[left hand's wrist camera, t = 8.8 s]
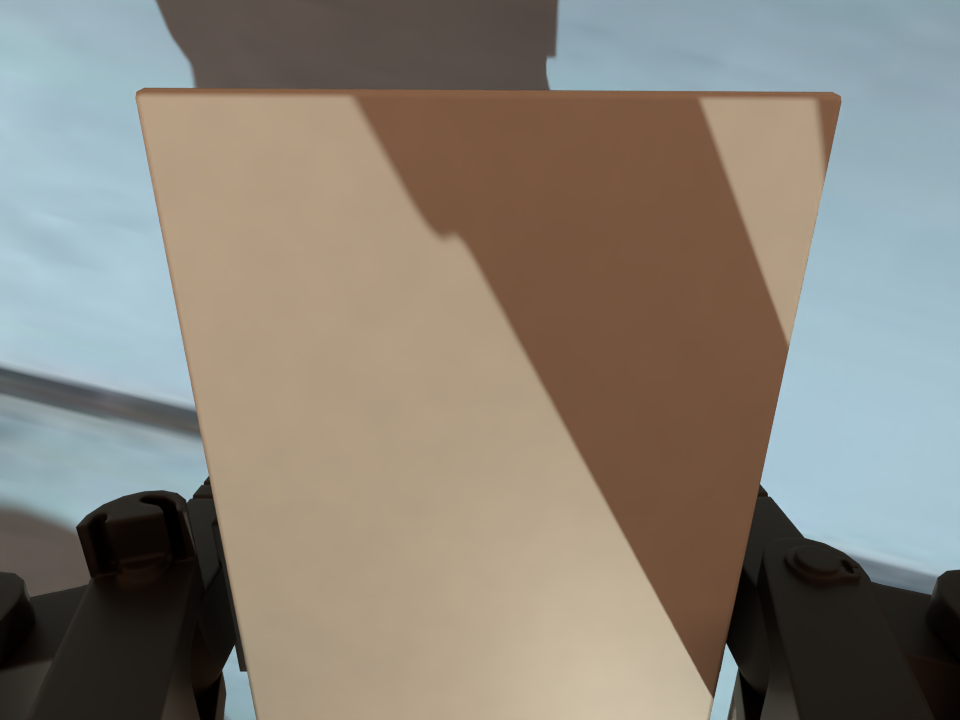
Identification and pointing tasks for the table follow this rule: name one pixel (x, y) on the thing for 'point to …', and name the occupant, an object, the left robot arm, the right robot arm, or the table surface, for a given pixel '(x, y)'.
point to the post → (485, 381)
